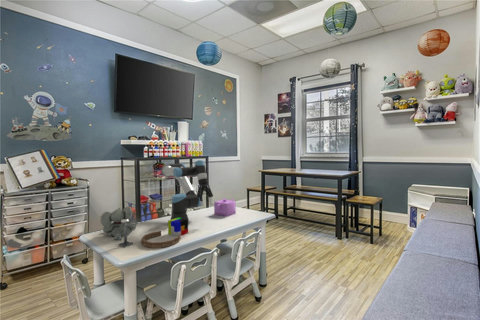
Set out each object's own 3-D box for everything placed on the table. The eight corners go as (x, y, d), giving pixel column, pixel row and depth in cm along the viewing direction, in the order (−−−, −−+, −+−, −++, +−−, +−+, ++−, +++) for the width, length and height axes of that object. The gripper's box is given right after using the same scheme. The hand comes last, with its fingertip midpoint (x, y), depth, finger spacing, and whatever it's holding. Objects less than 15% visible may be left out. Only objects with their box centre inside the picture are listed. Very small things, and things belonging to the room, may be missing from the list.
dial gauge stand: (118, 246, 165) (117, 220, 164) (129, 241, 172) (128, 217, 172) (127, 248, 161) (127, 222, 161) (138, 243, 169) (137, 218, 168)
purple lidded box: (240, 212, 249) (239, 197, 249) (223, 217, 229) (223, 202, 228) (227, 210, 258) (227, 196, 258) (210, 215, 238) (210, 200, 237)
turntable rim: (133, 244, 167) (133, 239, 167) (157, 234, 186) (157, 230, 186) (162, 250, 157) (162, 245, 156) (184, 239, 175) (184, 234, 175)
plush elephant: (105, 231, 196) (104, 204, 195) (136, 227, 203) (135, 201, 202) (99, 243, 170) (98, 212, 170) (135, 239, 178) (134, 209, 177)
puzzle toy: (177, 237, 181) (176, 222, 180) (168, 234, 187) (167, 220, 186) (188, 233, 189) (187, 219, 188) (179, 230, 195) (178, 217, 194)
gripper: (198, 176, 196) (203, 204, 191) (214, 179, 219) (218, 204, 214) (189, 179, 198) (194, 206, 193) (206, 181, 221) (211, 206, 216)
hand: (207, 205), depth 204 cm, fingers open, 13 cm apart
